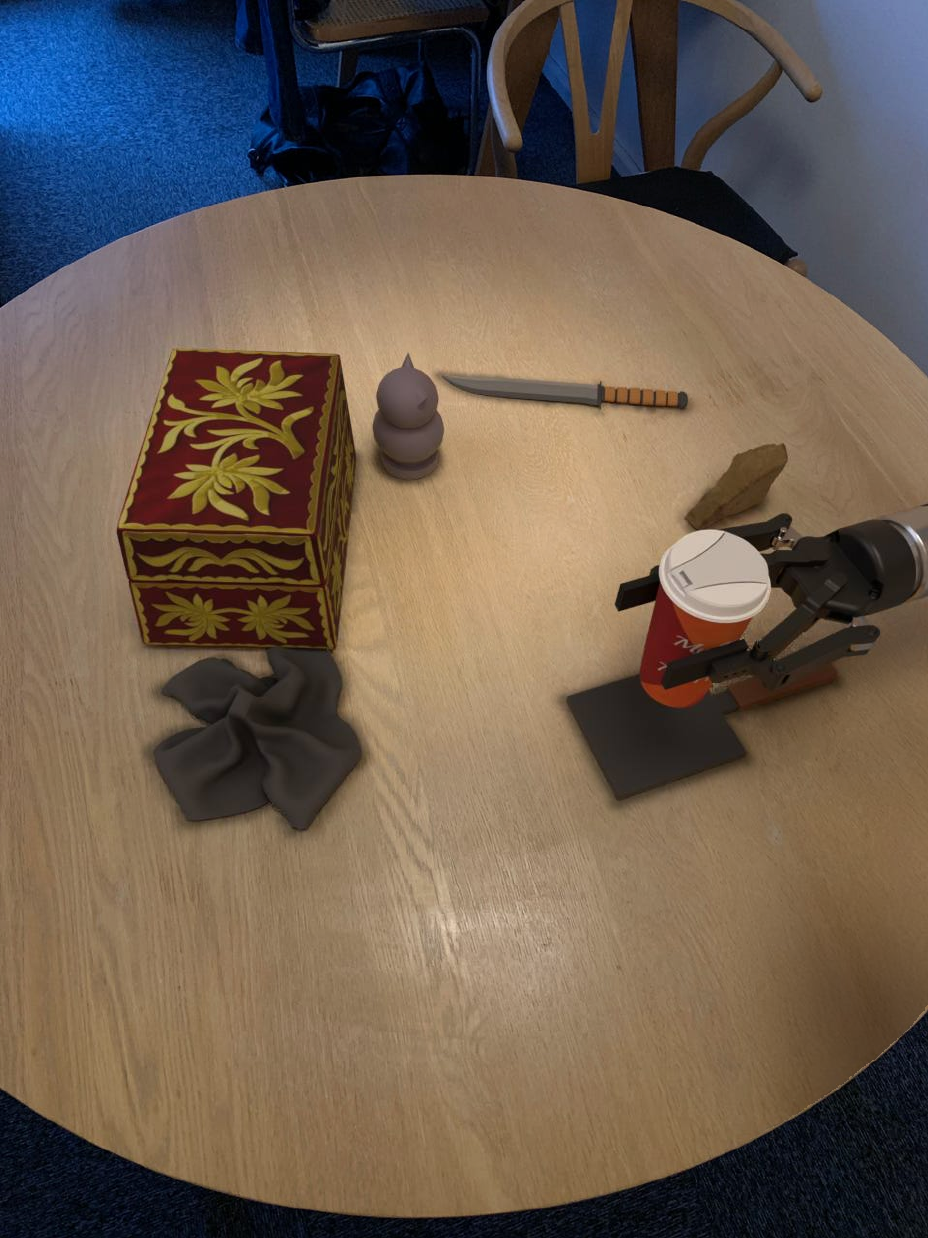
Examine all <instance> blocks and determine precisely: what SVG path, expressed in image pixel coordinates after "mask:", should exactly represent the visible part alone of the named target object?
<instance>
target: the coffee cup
mask: <svg viewBox="0 0 928 1238" xmlns="http://www.w3.org/2000/svg"><path fill="white" fill-rule="evenodd" d="M760 553H761V552H758V551H757V550H756V549H755V547H753V546H752V545H751V544H750V543H749V542H747V541H746V540H744V539H742V538H740V537H738V536H736V535H733V534H731V533H728V532H725V531H721V530H717V529H700V530H696V531H693V532H690V533H687V534H685V535H684V536H682V537H680V538H679V539H678V540H677V541H676V542H675V543H674V544H672V545H671V546H670V547H669V548H668V549H666V551H665V552H664V554H663V555H662V557H661V559H660V562H659V565H660V566H659V577H660V584H659V588H658V592H657V597H656V601H654V604H653V609H652V613H651V616H650V621H649V627H648V630H647V633H646V637H645V638H646V639H645V642H644V646H643V651H642V655H641V660H640V666H639V674H640V681H641V684H642V686H643V688H644V689H645V691H646V692H647V693H648V694H649V695H650V696H651V697H652V698H653V699H654V700H656V701H657V702H659V703H661V704H664V705H666V706H670V707H677V708H682V707H688V706H692V705H694V704H696V703H698V702H699V701H700V700H701V699H702V698H703V697H704V696H705V695H706V693H707V692H709V690H710V689H711V688H712V686H713V684H714V683H712V682H711V680H710V679H709V677H704V678H701V679H698V680H695V681H692V682H689V683H686V684H683V685H680V686H677V687H673V688H670V689H667V690H665V689H664V687H663V686H662V684H661V680H662V677H663V674H664V672H665V669H666V667H667V664H668V662H671V661H674V660H678V659H681V658H684V657H687V656H690V655H694V654H697V653H700V652H703V651H706V650H710V649H713V648H716V647H719V646H723V645H726V644H729V643H732V642H735V641H738V640H741V639H742V636H743V634H744V633H745V632H746V630H747V628H748V626H749V625H750V623H751V621H752V620H753V618H754V617H755V616H757V615H758V614H759V613H760V612H761V611H762V610H764V608H765V607H766V606H767V604H768V602H769V599H770V596H771V591H772V588H771V583H770V578H769V575H768V574H769V572H768V566H767V563H766V561H765V559H764V558H763V557H762V555H761V554H760Z"/></svg>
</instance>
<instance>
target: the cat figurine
mask: <svg viewBox="0 0 928 1238" xmlns="http://www.w3.org/2000/svg"><path fill="white" fill-rule="evenodd" d="M412 361H413V360H412V359H411V355H410V353H409V352H407V353H406V356H405V357H404V360H403V363H402V365H401V367H397V368H394V369H392V370H391V371H389V372H387V373H386V374H384V376H383V378H381V380H380V381H379V383H378V386H377V390H376V393H375V395H376V396H375V397H376V404H377V408H378V410H377V411H376V412H375V415H374V418H373V422H372V433H373V438H374V440H375V442H376V445H378V447H379V448H380V450H381V462H382V463H381V464H382V466H383V468H384V470H385V471H386V472H387V473H388V474H390V475H391V476H393V477H395V478H398V479H400V480H406V481H407V480H408V481H410V480H419V479H421V478H425V477H427V476H428V475H430V474H432V473H433V472H434V470H435V469H436V467H437V464H438V457H439V456H438V454H439V452H438V450H439V448H440V447H441V445H442V443H443V439H444V434H445V425H444V421H443V418H442V415H441V414H440V412H439V411H438V405H439V393H438V389H437V386H436V384H435V382H434V381H433V380H432V378H431V377H430V376H429V375H428V374H426V373H425V372H424V371H422V370H421V369H418V368H415V366H414V364H413V362H412Z"/></svg>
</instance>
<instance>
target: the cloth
mask: <svg viewBox="0 0 928 1238" xmlns="http://www.w3.org/2000/svg"><path fill="white" fill-rule="evenodd" d="M265 649H266V654H267V655H266V656H267V661H268V665H269V666H270V668H271V670H272V672H273V676H270V675H267V676H263V677H258V676H256V675H255V674H253V673H251V672H250V671H247V670H244V669H241V668H239V667H237V666H236V665H235V664H234V662H232V661H231V660H229V659H228V658H224V657H223V658H220V659H219V658H217V657H215V656H214V657H213V656H212V657H206V658H202V659H199V660H197V661H196V662H194V663H193V664H191V665H189V666H187V667H186V668H184V669H183V670H181V671H179V672H177V673H176V674H174V675H172V677H170V679H168V681H167V682H166V684H164V686H163V687H161V690H160V693H161V694H162V695H163V696H165V697H173V698H175V699H177V700H178V701H179V702H180V703H181V705H183V707H184V708H185V709H186V710H187V711H188V712H189V713H190V714H191V715H192V716H193V717H194V718H195V719H199V720H201V721H204V722H207V723H209V724H210V725H207V726H206V727H204V726H203V727H192V728H187V729H184V730H181V731H178V732H177V733H174V734H172V735H170V736H168V737H166V738H165V739H164V740H162V741H160V742H159V743H158V744H157V746H155V748H154V749H153V755H154V762H155V765H156V767H157V769H158V772H159V774H160V776H161V778H162V779H163V781H164V782H165V784H166V786H167V788H168V790H169V792H170V794H171V796H172V797H173V798H174V800H175V801H176V803H178V805H179V807H180V809H181V811H182V812H183V814H184V817H185V819H186V820H187V821H205V820H211V819H212V820H213V819H220V818H228V817H231V816H237V815H240V814H245V813H248V812H251V811H254V810H256V809H260V808H262V807H264V806H266V805H267V804H268V803H271V804H272V805H273V806H274V807H276V808H277V809H278V810H279V811H281V812H282V813H283V814H284V815H285V817H286V819H287V820H288V822H289V825H290V827H293V828H294V829H298V830H307V829H308V828H309V826H310V824H311V823H313V820H314V819H315V818H316V816H317V815H318V814H319V812H320V811H321V809H322V808H323V807H324V805H325V804H327V802H328V800H329V799H330V797H331V796H332V795H333V794H334V793H335V791H336V790H337V788H338V787H339V786H340V785H341V783H342V782H343V780H344V779H345V778H346V777H347V776H348V774H349V773H350V772H351V771H352V769H353V768H354V767H355V766H356V765H357V764H358V762H359V761H360V759H361V758H362V753H363V751H362V748H361V744H360V740H359V738H358V735H357V734H356V731H355V730H354V729H353V727H352V726H351V724H350V723H348V721H345V720H344V719H343V718H342V717H340V715H339V713H338V705H339V699H340V695H341V693H342V689H343V679H342V675H341V671H340V669H339V667H338V664H337V663H336V661H335V659H334V657H333V655H332V653H331V652H330V651H329V649H299V648H282V647H272V648H265Z"/></svg>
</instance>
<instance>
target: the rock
mask: <svg viewBox="0 0 928 1238" xmlns="http://www.w3.org/2000/svg"><path fill="white" fill-rule="evenodd" d="M788 461H789V456H788V450H787V447H786V445H785V443H784V442H781V443H780V444H776V443H767V444H762V445H760V446H757V447H754V448H749V449H748V450H746V451H743V452H740V453H739V452H738V453H736V454H735V455H734V456H733V457H732V458H731V463H730V465H729V466H728V469H726V471H725V472H724V473H723V474H722V475H721V477H720V478H719V479H718V481H717V483H716V485H715V486H714V487H712V488H710V489H708V490H707V491H706V492H705V493H704V494H703V495H702V496H701V498H700V499H699V501H698V502H697V504H695V506H693V507H692V508H691V509H690V511H689V512H687V514H686V515H685V518H686V520H687V521H688V522H689V523H690V524H691V525H692V527H693V528H694V529H696V531H699V530H704V529H705V528H708V527H709V526H711V525H712V524H715V523H717V522H719V521H721V520H723V519H725V518H727V517H729V516H733V515H734V516H735V515H736V514H738V513H741V512H743V511H745V510H747V509H749V508H750V507H752V506H756V505H758V504H761V503H762V502H763V501H764V500H765V498H766V496H767V495H768V493H769V491H770V489H771V486H772V485H773V484H774V483H775V481H776V479H777V478H778V477H779V476H780V475H781V473H782V472H783V470H784V468H785V467H786V465H787V464H788Z"/></svg>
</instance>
